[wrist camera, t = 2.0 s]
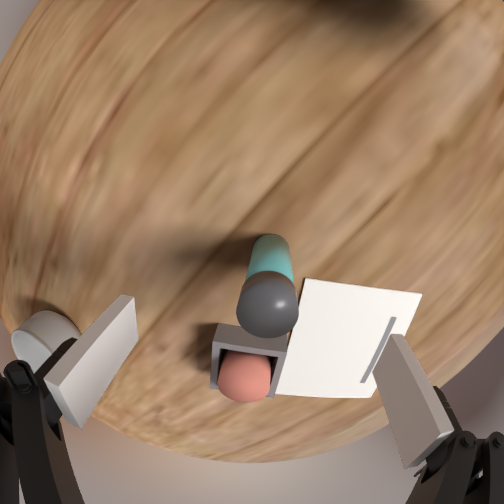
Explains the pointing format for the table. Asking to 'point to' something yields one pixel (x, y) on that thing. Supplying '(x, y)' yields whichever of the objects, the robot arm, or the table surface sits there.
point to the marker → (268, 290)
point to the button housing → (248, 343)
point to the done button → (244, 376)
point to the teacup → (41, 337)
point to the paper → (342, 338)
